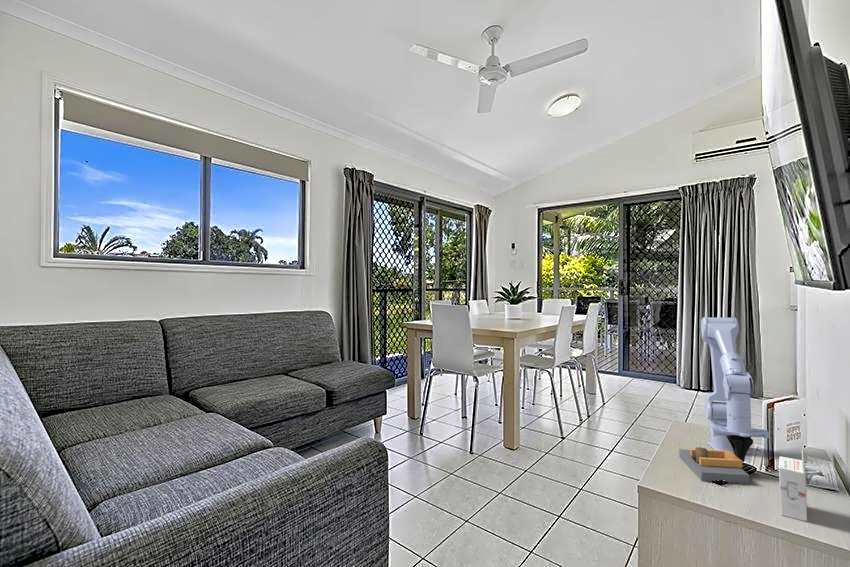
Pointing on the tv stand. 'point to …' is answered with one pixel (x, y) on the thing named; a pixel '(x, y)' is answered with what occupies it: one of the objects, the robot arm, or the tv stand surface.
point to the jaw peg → (701, 453)
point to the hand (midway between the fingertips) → (739, 460)
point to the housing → (714, 470)
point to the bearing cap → (719, 458)
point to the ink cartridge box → (793, 488)
